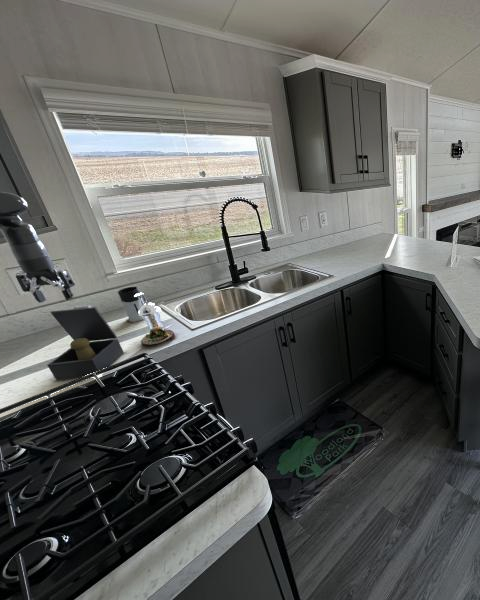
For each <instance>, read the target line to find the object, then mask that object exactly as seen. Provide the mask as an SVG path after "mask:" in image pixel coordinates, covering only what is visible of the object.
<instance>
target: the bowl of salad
mask: <svg viewBox="0 0 480 600" xmlns="http://www.w3.org/2000/svg"><path fill="white" fill-rule="evenodd" d="M170 338H172V339H173V340H174V339H175V338H176V336H175V332H174V331H173V330H171V329H164V330H163V329H162V327H160V326H156V325H155V327H153V328H152V329H151V330H150V329H149V334H147V333H146V335H144V337H143V338H142V339H141V341H140V344H141V345H142V346H143V345H148V346H149V345H156V344H160V343H163V342H165V341H167V340H169V339H170Z"/></svg>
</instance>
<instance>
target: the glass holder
mask: <svg viewBox="0 0 480 600" xmlns="http://www.w3.org/2000/svg"><path fill="white" fill-rule="evenodd" d="M139 293H140V291H139V288H138V287H137V286H128V287H123V288H121V289H119V290H118V291H117V294H118V295H119V298H120V302H121V304H122V306H123V308H124V311H125V312H126V315H127V316H128V322H131V323H132V322H133V323H134V322H140V321H143V320H144V319H143V318H142V316H139V315H138V312H139V311H140V307H141V306H142V305H143V304H145V301H144V299H143V296H142V295H139V296H136V297H133V296H134V295H137V294H139ZM146 301H147V299H146ZM147 302H148V301H147Z"/></svg>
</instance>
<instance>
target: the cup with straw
mask: <svg viewBox="0 0 480 600" xmlns="http://www.w3.org/2000/svg"><path fill="white" fill-rule="evenodd" d="M139 295H140V296H141V297H142V299H143V302H144V304H143V305H142V306H141V307H140V311H139V312H138V315H139V316H142V318H143V320H144V322H145V323H146V325H147V327H148V328H149V331H150V330H151V329H152V328H153V327H155V325H156V326H160V327H162V329H163V330H165V329H164V323H163V320H162V316H161V315H162V314H161V311H162V308H161V306H159V305H157V304H156V303H153V302H148V301H146V300H147V298H146V296H145V294H144V292H139V294H137V295H134V296H133V297H136V296H139Z"/></svg>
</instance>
